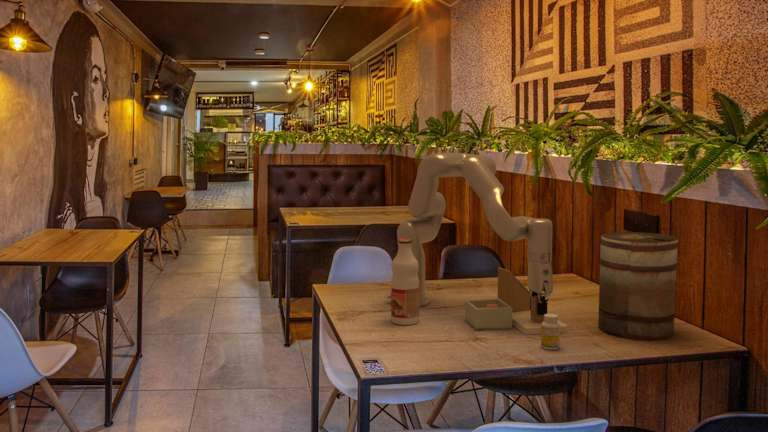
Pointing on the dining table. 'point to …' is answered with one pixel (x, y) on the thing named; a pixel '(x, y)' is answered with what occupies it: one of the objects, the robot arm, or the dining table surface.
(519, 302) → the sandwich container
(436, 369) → the dining table surface
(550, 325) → the supplement bottle
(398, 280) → the fruit juice
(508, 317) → the box
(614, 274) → the barrel
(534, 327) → the lid
